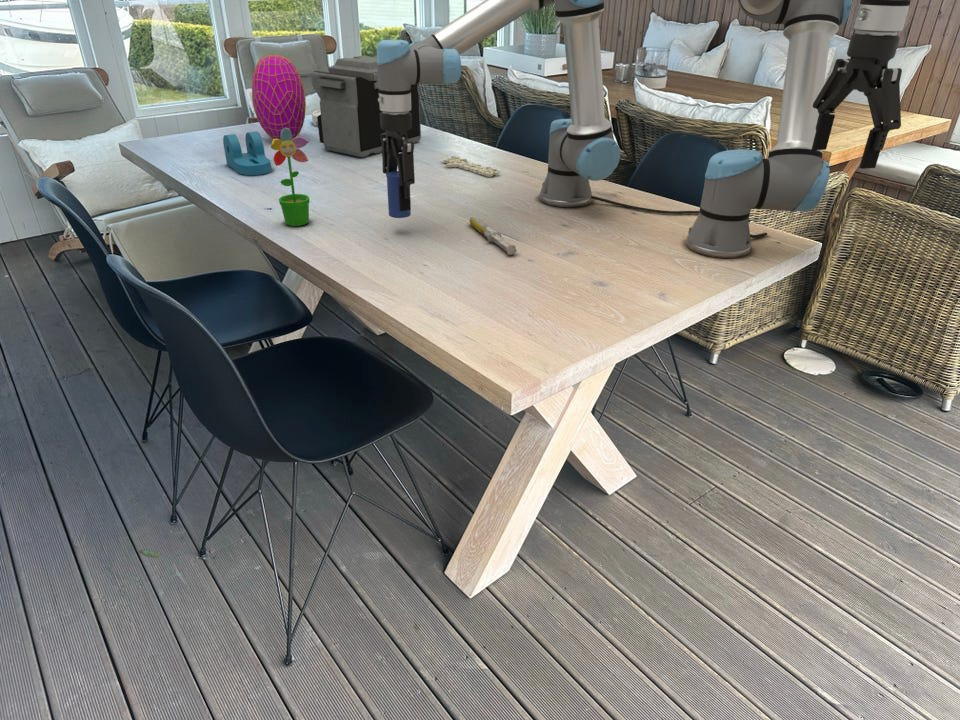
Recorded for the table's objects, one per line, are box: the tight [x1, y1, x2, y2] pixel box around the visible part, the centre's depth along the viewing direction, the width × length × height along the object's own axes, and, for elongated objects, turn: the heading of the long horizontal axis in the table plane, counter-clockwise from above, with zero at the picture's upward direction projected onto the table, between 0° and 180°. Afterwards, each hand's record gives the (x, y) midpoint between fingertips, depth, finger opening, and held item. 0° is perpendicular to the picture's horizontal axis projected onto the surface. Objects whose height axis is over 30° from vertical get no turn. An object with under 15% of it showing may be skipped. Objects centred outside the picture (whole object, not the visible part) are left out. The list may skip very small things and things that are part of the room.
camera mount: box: [222, 131, 272, 176], centre depth 226 cm, size 18×10×10 cm, turn 35°
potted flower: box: [270, 128, 310, 227], centre depth 177 cm, size 9×8×25 cm
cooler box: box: [310, 55, 422, 159], centre depth 250 cm, size 37×22×30 cm, turn 144°
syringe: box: [469, 216, 518, 256], centre depth 174 cm, size 25×4×3 cm, turn 21°
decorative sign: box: [442, 155, 499, 178], centre depth 232 cm, size 26×1×10 cm
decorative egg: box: [251, 54, 307, 141], centre depth 257 cm, size 19×19×30 cm
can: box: [386, 170, 412, 219], centre depth 173 cm, size 6×6×10 cm
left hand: (399, 206), depth 175 cm, fingers closed on can, 6 cm apart
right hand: (841, 158), depth 128 cm, fingers open, 13 cm apart
